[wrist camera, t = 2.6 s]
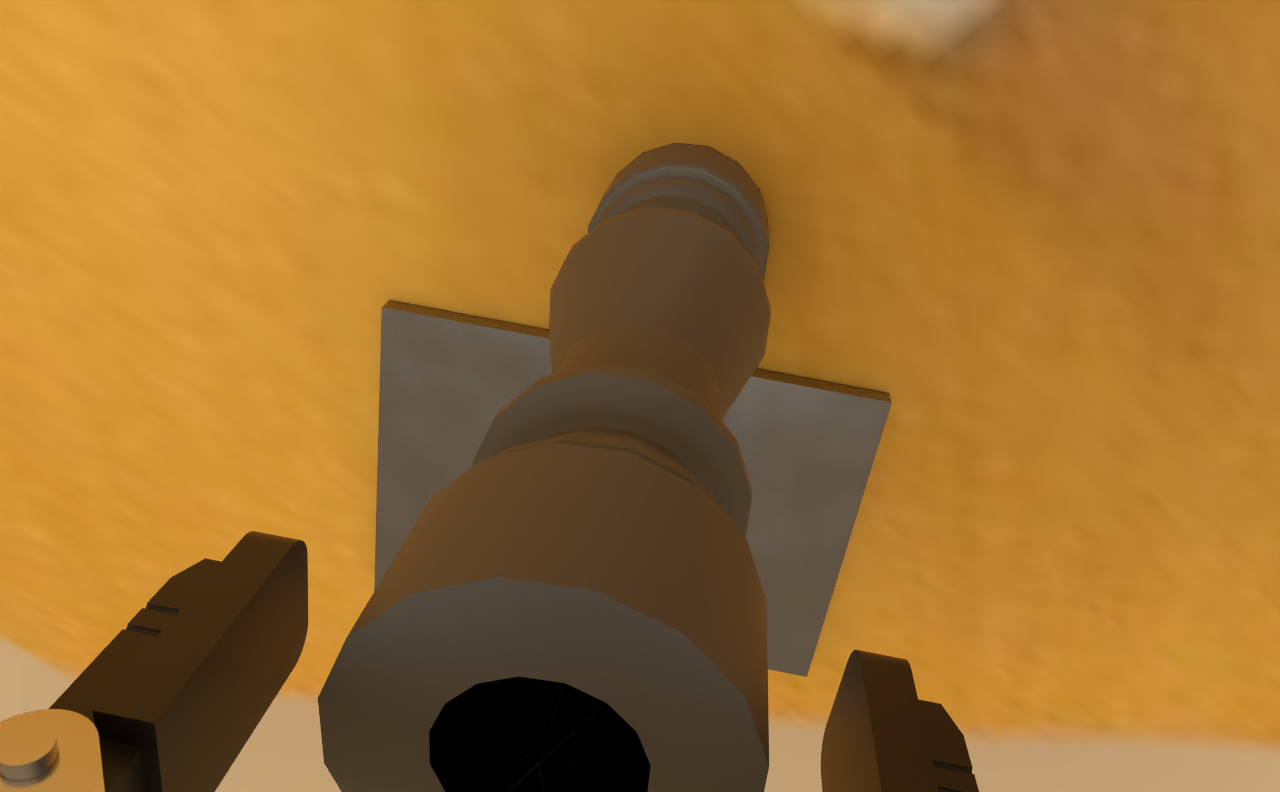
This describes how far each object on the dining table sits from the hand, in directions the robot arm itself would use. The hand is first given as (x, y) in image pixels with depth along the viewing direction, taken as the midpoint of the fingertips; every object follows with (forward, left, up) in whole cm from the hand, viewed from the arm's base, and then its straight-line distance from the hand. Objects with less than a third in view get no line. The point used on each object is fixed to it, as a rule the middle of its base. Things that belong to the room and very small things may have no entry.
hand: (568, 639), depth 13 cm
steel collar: (+1, +12, -23) cm, 26 cm away
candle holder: (0, 0, -23) cm, 23 cm away
